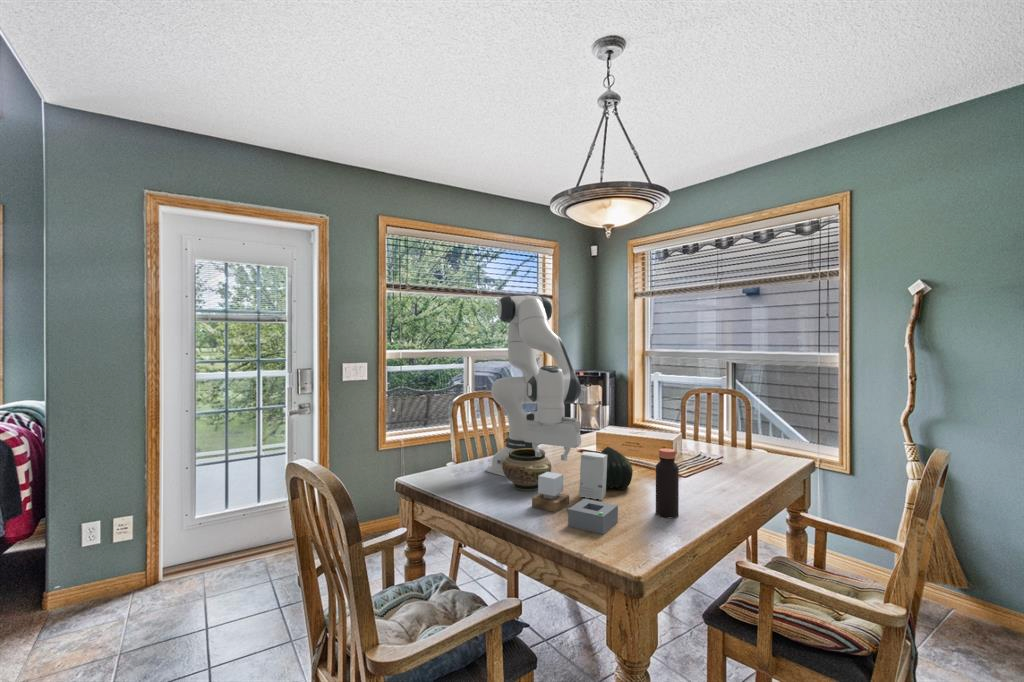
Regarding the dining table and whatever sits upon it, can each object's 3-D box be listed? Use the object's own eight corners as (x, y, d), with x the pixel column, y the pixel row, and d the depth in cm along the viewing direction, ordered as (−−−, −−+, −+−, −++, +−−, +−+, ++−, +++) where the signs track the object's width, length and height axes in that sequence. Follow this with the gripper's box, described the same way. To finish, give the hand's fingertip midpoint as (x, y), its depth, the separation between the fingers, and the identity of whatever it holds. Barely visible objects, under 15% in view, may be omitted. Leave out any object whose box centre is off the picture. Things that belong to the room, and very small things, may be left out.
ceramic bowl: (498, 486, 189) (488, 450, 188) (537, 470, 196) (529, 435, 194) (524, 507, 167) (514, 466, 165) (568, 488, 174) (559, 448, 172)
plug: (538, 506, 160) (538, 475, 159) (547, 501, 165) (547, 471, 165) (554, 510, 156) (554, 478, 156) (563, 504, 161) (563, 474, 161)
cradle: (531, 507, 159) (531, 497, 159) (545, 499, 167) (545, 490, 167) (556, 512, 154) (556, 502, 154) (569, 504, 162) (569, 495, 162)
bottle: (660, 508, 158) (661, 446, 157) (681, 513, 153) (682, 449, 153) (652, 514, 152) (652, 450, 152) (673, 519, 148) (673, 453, 148)
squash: (629, 481, 169) (631, 443, 178) (586, 479, 174) (589, 441, 183) (633, 499, 179) (634, 461, 188) (592, 496, 184) (595, 460, 193)
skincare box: (579, 497, 169) (579, 454, 168) (583, 492, 174) (584, 450, 174) (603, 501, 165) (603, 456, 165) (607, 495, 171) (607, 453, 170)
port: (568, 526, 143) (568, 507, 143) (583, 514, 152) (584, 497, 152) (603, 534, 137) (603, 515, 137) (617, 521, 146) (617, 503, 146)
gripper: (584, 417, 157) (584, 460, 157) (529, 412, 168) (529, 453, 168) (575, 419, 152) (575, 464, 152) (519, 414, 163) (519, 456, 163)
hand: (551, 458), depth 160 cm, fingers open, 8 cm apart
